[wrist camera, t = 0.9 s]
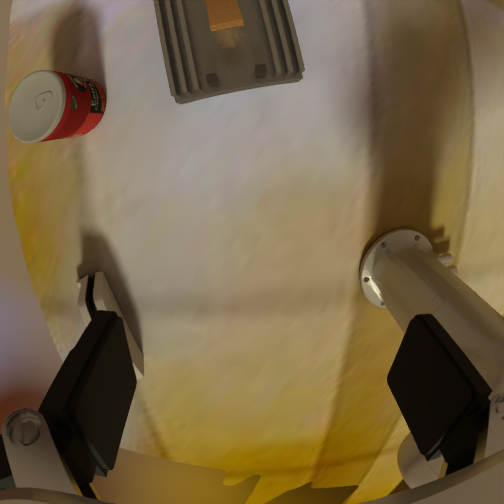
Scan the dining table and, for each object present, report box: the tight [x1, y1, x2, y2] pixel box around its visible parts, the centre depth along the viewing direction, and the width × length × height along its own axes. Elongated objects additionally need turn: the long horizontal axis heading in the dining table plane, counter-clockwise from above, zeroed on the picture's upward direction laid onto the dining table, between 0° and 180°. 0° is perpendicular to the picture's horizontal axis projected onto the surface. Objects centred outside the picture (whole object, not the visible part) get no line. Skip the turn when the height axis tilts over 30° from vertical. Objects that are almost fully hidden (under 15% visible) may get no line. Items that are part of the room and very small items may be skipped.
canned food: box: [8, 70, 106, 143], centre depth 26 cm, size 8×8×11 cm
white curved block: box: [76, 271, 144, 380], centre depth 40 cm, size 17×5×10 cm, turn 12°
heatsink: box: [154, 0, 305, 104], centre depth 26 cm, size 14×17×6 cm
